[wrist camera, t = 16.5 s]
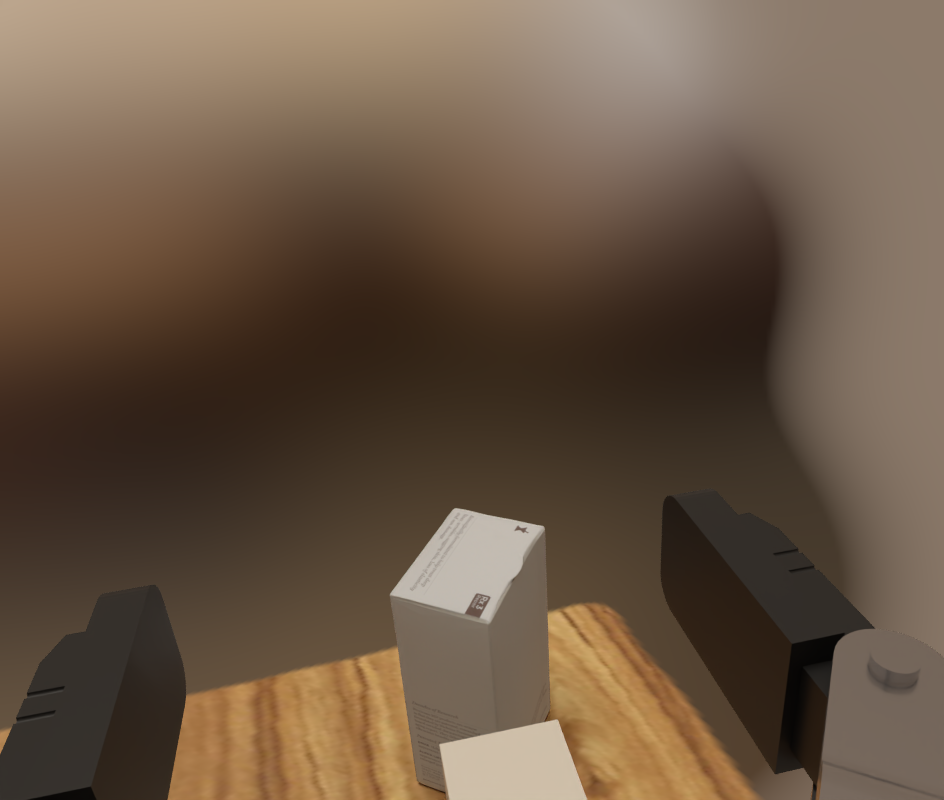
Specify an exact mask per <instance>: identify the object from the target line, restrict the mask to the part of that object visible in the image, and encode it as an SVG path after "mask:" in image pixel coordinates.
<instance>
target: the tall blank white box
mask: <svg viewBox="0 0 944 800" xmlns="http://www.w3.org/2000/svg"><path fill="white" fill-rule="evenodd" d="M439 746H440V754H441V761H442V769H443V776H444V783H445V791H446V798H447V800H587V798H586V796H585V793H584V790H583V787H582V785H581V782H580V779H579V776H578V774H577V771H576V768H575V766H574V763H573V760H572V757H571V755H570V752H569V749H568V746H567V744H566V741H565V738H564V735H563V733H562V730H561V727H560V725H559V722H558V719H557V720H552V721H547V722H543V723H538V724H533V725H528V726H524V727H519V728H514V729H510V730H505V731H500V732H495V733H491V734H486V735H481V736H476V737H472V738H467V739H462V740H457V741H453V742H448V743H443V744H439Z"/></svg>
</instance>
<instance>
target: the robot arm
mask: <svg viewBox="0 0 944 800" xmlns="http://www.w3.org/2000/svg"><path fill="white" fill-rule="evenodd" d="M661 582H662V588H663V592H664V595H665V598H666V601H667V604H668V606H669V608H670V610H671V612H672V613H673V615H674V616H675V618H676V620H677V621H678V623H679V624H680V626H681V627H682V629H683V631H684V632H685V634H686V635H687V637H688V639H689V640H690V642H691V643H692V645H693V646H694V648H695V649H696V651H697V652H698V654H699V656H700V657H701V659H702V660H703V662H704V664H705V665H706V667H707V668H708V670H709V671H710V673H711V675H712V676H713V678H714V679H715V681H716V682H717V684H718V686H719V687H720V689H721V690H722V692H723V693H724V695H725V697H726V698H727V700H728V701H729V703H730V704H731V706H732V707H733V709H734V711H735V712H736V714H737V715H738V717H739V719H740V720H741V722H742V723H743V725H744V726H745V728H746V730H747V731H748V733H749V734H750V736H751V737H752V739H753V740H754V742H755V744H756V745H757V746H758V748H759V750H760V751H761V753H762V755H763V756H764V758H765V759H766V761H767V762H768V764H769V766H770V767H771V769H772V770H773V772H774V773H775V774H778V773H783V772H786V771H791V770H795V769H800V768H804V769H805V770H806V772H807V774H808V775H809V777H810V778H811V779H812V781H813V786H812V792H811V799H810V800H944V658H943V657H942V656H941V654H939V653H938V652H937V651H935V650H934V649H933V648H931V647H930V646H928V645H927V644H925V643H923V642H921V641H919V640H917V639H915V638H913V637H910V636H908V635H905V634H902V633H898V632H895V631H889V630H883V629H875V628H874V627H873V626H872V625H871V624H870V623H869V621H868V620H867V619H866V618H865V617H864V616H863V615H862V614H861V613H860V612H859V611H858V610H857V609H856V608H855V607H854V606H853V605H852V604H851V603H850V602H849V601H848V600H847V599H846V598H845V597H844V596H843V595H842V594H841V593H840V592H839V590H838V589H837V588H836V587H835V586H834V585H833V584H832V583H831V582H830V581H829V580H828V579H827V578H826V577H825V576H824V575H823V574H822V573H821V572H820V571H819V570H815V568H814V565H813V564H812V563H811V562H810V560H809V559H808V558H807V557H805V555H804V554H803V553H799V552H798V548H797V547H796V546H795V545H794V544H793V543H792V542H791V541H790V540H789V539H788V538H787V537H786V536H785V535H784V534H783V533H782V531H780V530H779V528H777V527H775V526H773V525H771V524H769V523H768V522H766V521H764V520H762V519H760V518H758V517H756V516H754V515H753V514H751V513H745V514H740V515H738V514H737V513H736V512H735V511H734V510H733V509H732V508H731V507H730V506H729V505H728V503H727V502H726V501H725V500H724V499H723V498H722V497H721V496H720V495H719V494H718V493H717V492H716V491H715V490H714V489H705V490H699V491H693V492H688V493H682V494H677V495H671V496H667V497H666V498H665V500H664V503H663V513H662V543H661ZM185 700H186V681H185V672H184V667H183V662H182V659H181V655H180V652H179V649H178V646H177V643H176V639H175V636H174V633H173V630H172V627H171V623H170V620H169V617H168V614H167V611H166V607H165V604H164V601H163V598H162V595H161V592H160V590H159V589H158V587H157V586H156V585H150V586H144V587H138V588H132V589H127V590H121V591H116V592H109V593H104V594H102V595H100V597H99V598H98V601H97V603H96V605H95V608H94V611H93V613H92V616H91V619H90V621H89V624H88V627H87V629H86V632H81V633H75V634H69V635H66V636H65V637H64V638H63V639H62V640H61V641H60V642H59V643H58V644H57V645H56V646H55V648H54V649H53V650H52V651H51V652H50V653H49V654H48V655H47V656H46V657H45V659H43V660H42V662H41V663H40V664H39V666H38V669H37V671H36V673H35V676H34V678H33V680H32V683H31V685H30V687H29V689H28V692H27V699H24V701H23V703H22V706H21V708H20V710H19V713H18V715H17V717H16V719H17V723H16V724H13V726H12V729H11V731H10V733H9V736H8V738H7V740H6V743H5V745H4V747H3V750H2V752H1V754H0V800H167V799H168V793H169V788H170V783H171V777H172V772H173V766H174V761H175V756H176V750H177V745H178V740H179V734H180V729H181V724H182V718H183V713H184V708H185Z"/></svg>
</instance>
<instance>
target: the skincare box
mask: <svg viewBox="0 0 944 800" xmlns="http://www.w3.org/2000/svg"><path fill="white" fill-rule="evenodd" d="M545 553H546V552H545V528H544V527H543V526H539V525H534V524H529V523H524V522H520V521H515V520H510V519H505V518H499V517H494V516H489V515H484V514H480V513H476V512H472V511H468V510H463V509H456V508H455V509H453V511H452V512H451V513H450V514H449V516H448V517H447V518H446V520H445V521H444V523H443V524H442V525H441V527H440V528H439V529H438V531H437V532H436V533H435V535H434V536H433V537H432V539H431V540H430V542H429V543H428V544H427V545H426V547H425V548H424V549H423V551H422V552H421V553H420V555H419V556H418V557H417V559H416V560H415V562H414V563H413V564H412V565H411V567H410V568H409V569H408V571H407V572H406V573H405V575H404V576H403V578H402V579H401V580H400V582H399V583H398V584H397V586H396V587H395V588H394V590H393V591H392V592H391V594H390V600H391V606H392V612H393V618H394V626H395V632H396V638H397V644H398V651H399V659H400V667H401V674H402V681H403V688H404V695H405V702H406V709H407V716H408V723H409V730H410V736H411V743H412V750H413V757H414V763H415V770H416V777H417V781H418V782H420V783H421V784H424V785H426V786H429V787H432V788H434V789H437V790H440V791H443V792H446V791H445V783H444V776H443V769H442V761H441V754H440V746H439V744H443V743H448V742H453V741H457V740H462V739H467V738H472V737H476V736H481V735H486V734H491V733H495V732H500V731H505V730H510V729H514V728H519V727H524V726H528V725H533V724H538V723H543V722H544V721H545V719H546V717H547V714H548V712H549V710H550V684H549V650H548V617H547V585H546V554H545Z"/></svg>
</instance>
